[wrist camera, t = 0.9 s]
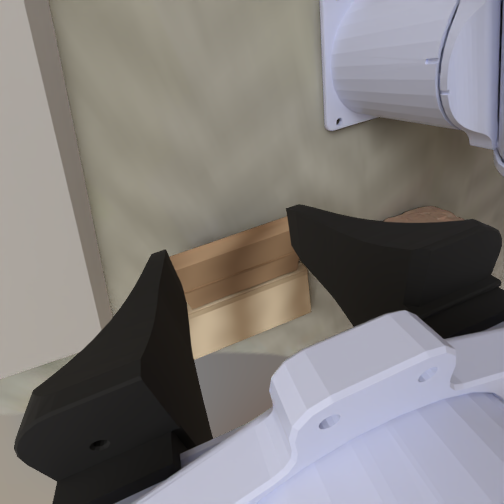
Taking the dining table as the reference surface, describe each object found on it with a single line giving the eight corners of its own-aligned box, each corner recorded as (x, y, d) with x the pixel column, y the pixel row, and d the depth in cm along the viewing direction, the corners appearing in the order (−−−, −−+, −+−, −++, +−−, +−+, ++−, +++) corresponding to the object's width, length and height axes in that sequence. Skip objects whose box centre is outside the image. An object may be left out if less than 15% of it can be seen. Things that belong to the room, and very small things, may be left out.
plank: (298, 212, 20) (306, 225, 20) (291, 259, 26) (297, 270, 26) (164, 258, 19) (168, 274, 18) (188, 297, 25) (192, 310, 24)
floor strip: (300, 261, 27) (307, 269, 26) (305, 304, 30) (311, 313, 29) (169, 310, 25) (171, 321, 24) (191, 350, 28) (192, 361, 27)
